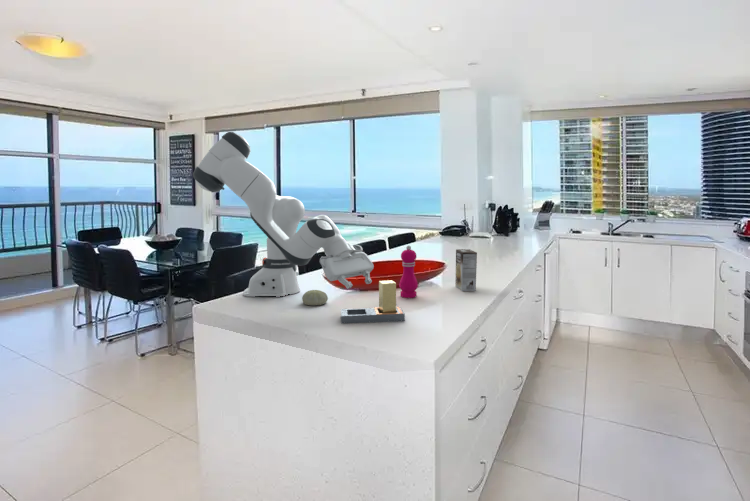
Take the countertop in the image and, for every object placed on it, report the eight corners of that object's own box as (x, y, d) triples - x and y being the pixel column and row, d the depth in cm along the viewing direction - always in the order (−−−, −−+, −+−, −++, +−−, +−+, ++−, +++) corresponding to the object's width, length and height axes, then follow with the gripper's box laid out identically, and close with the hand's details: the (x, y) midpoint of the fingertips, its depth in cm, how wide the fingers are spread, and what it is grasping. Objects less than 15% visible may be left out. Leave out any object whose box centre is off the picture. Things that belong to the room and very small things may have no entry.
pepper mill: (416, 298, 166) (417, 246, 163) (397, 298, 167) (398, 246, 165) (418, 294, 173) (419, 244, 170) (400, 293, 174) (400, 244, 172)
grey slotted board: (341, 323, 136) (341, 315, 136) (340, 316, 144) (340, 308, 143) (404, 321, 138) (404, 313, 138) (400, 314, 146) (400, 306, 145)
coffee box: (454, 286, 187) (455, 249, 184) (469, 286, 187) (470, 248, 185) (461, 291, 178) (462, 252, 176) (476, 290, 178) (477, 251, 176)
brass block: (382, 320, 139) (382, 283, 137) (379, 316, 143) (379, 281, 141) (396, 319, 140) (396, 282, 138) (391, 315, 144) (391, 280, 142)
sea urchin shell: (322, 302, 154) (308, 286, 155) (309, 316, 157) (294, 300, 158) (333, 296, 163) (319, 280, 164) (320, 309, 165) (307, 294, 166)
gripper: (321, 251, 144) (342, 284, 139) (364, 245, 159) (384, 275, 154) (313, 263, 148) (333, 296, 142) (355, 256, 163) (375, 285, 157)
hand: (360, 285), depth 148 cm, fingers open, 8 cm apart
